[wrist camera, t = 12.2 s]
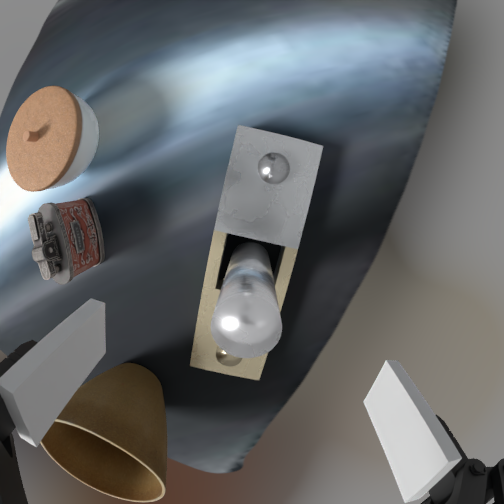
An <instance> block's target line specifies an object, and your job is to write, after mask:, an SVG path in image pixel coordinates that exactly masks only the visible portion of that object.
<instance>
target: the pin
mask: <svg viewBox="0 0 504 504" xmlns="http://www.w3.org/2000/svg"><path fill="white" fill-rule="evenodd" d="M211 334H212V337H213V339H214V341H215V342H216V344H217V345H218V346H219V347H220V348H221V349H222V350H223V351H225V352H226V353H228V354H230V355H232V356H235V357H239V358H255V357H259V356H262V355H264V354H266V353H268V352H269V351H270V350H272V349H273V348H274V347H275V346H276V344H277V343H278V341H279V339H280V337H281V334H282V321H281V316H280V311H279V306H278V300H277V295H276V290H275V285H274V280H273V275H272V269H271V264H270V259H269V255H268V252H267V250H266V249H265V248H264V247H263V246H262V245H260V244H259V243H256V242H244V243H242V244H240V245H238V246H237V247H236V248H235V249H234V251H233V253H232V256H231V259H230V262H229V265H228V269H227V272H226V275H225V278H224V281H223V284H222V287H221V291H220V294H219V297H218V300H217V303H216V307H215V310H214V313H213V316H212V320H211Z"/></svg>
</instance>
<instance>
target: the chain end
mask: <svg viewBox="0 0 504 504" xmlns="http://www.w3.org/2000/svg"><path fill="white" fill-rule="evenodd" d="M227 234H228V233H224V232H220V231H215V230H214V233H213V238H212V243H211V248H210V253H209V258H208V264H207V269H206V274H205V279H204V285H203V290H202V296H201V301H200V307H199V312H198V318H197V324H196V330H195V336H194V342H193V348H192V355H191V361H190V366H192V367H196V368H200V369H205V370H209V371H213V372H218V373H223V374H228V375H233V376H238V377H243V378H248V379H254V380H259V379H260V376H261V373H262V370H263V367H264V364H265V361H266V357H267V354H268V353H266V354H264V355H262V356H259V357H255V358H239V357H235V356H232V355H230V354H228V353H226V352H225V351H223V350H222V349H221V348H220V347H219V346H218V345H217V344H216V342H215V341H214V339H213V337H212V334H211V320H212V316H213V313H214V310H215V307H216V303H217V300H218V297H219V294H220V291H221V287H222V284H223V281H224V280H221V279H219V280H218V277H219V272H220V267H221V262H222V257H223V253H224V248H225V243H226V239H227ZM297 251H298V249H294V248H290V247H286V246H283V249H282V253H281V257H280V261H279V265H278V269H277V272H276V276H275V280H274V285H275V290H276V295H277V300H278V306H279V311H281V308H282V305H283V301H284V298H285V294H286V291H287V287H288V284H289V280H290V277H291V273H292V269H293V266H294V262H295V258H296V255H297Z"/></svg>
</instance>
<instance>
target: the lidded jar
mask: <svg viewBox="0 0 504 504" xmlns="http://www.w3.org/2000/svg"><path fill="white" fill-rule="evenodd" d="M98 142H99V126H98V121H97V118H96V116H95V114H94V112H93V110H92V109H91V107H90V106H89V105H88V104H87V103H86V102H85V101H84V100H83V99H81V98H80V97H79V96H77V95H75V94H73V93H71V92H70V91H68V90H67V89H64V88H62V87H59V86H48V87H44V88H42V89H40V90H38V91H36V92H35V93H34V94H32V95H31V96H30V97H29V98H28V99H27V100H26V101H25V102H24V103H23V104H22V106H21V107H20V109H19V110H18V112H17V114H16V116H15V117H14V120H13V122H12V125H11V127H10V131H9V134H8V139H7V148H6V155H7V164H8V168H9V171H10V174H11V176H12V178H13V179H14V181H15V182H16V183H17V185H19V186H20V187H21V188H22V189H24V190H27V191H42V190H45V189H51V188H56V187H59V186H63V185H65V184H67V183H69V182H71V181H73V180H74V179H76V178H77V177H79V176H80V175H81V174H82V173H83V172H84V171H85V170H86V169H87V167H88V166H89V164H90V163H91V161H92V160H93V157H94V155H95V153H96V150H97V147H98Z"/></svg>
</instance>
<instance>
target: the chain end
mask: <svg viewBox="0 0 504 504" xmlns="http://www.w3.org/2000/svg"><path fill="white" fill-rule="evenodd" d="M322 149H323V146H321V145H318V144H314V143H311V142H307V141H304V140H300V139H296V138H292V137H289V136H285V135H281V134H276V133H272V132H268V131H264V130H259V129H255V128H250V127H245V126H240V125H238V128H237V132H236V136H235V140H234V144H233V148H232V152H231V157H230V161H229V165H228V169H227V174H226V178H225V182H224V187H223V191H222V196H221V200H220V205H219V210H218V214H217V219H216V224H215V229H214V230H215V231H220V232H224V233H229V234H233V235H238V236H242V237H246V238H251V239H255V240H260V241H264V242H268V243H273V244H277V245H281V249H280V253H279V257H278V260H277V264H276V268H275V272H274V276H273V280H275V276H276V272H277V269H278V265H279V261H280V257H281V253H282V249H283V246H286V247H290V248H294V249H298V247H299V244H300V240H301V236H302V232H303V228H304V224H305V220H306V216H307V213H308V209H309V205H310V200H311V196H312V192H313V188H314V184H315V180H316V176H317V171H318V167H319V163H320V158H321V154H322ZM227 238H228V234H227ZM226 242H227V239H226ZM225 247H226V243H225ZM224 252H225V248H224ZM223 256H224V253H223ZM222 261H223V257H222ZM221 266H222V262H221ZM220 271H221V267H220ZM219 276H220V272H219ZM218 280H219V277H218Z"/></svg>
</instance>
